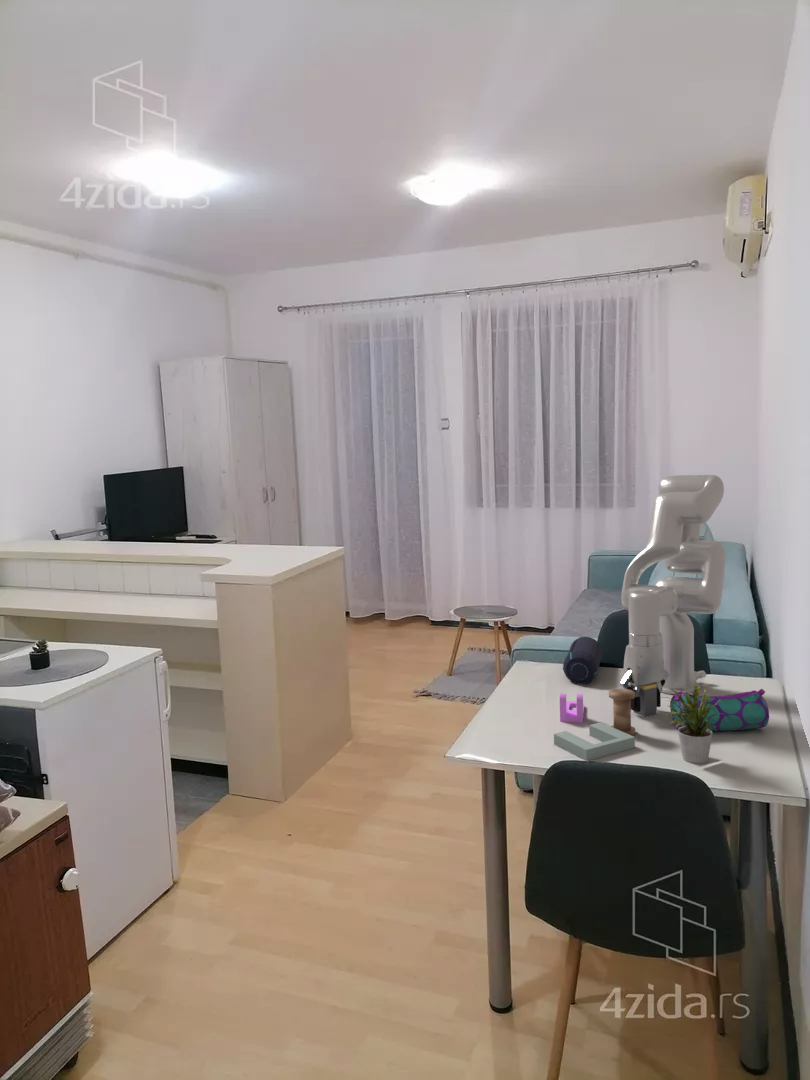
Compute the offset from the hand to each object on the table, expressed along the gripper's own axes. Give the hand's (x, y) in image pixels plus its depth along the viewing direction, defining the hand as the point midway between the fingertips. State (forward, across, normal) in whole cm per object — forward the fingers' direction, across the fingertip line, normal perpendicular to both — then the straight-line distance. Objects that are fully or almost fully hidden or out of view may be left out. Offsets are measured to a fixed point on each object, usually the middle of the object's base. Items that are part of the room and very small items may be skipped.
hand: (645, 707), depth 195 cm
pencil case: (+2, -7, +17) cm, 19 cm away
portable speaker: (+2, -9, -35) cm, 37 cm away
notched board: (+2, +25, +9) cm, 27 cm away
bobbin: (+2, +14, +7) cm, 16 cm away
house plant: (+2, +11, +26) cm, 28 cm away
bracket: (+2, +15, -10) cm, 18 cm away
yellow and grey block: (+2, 0, 0) cm, 2 cm away
